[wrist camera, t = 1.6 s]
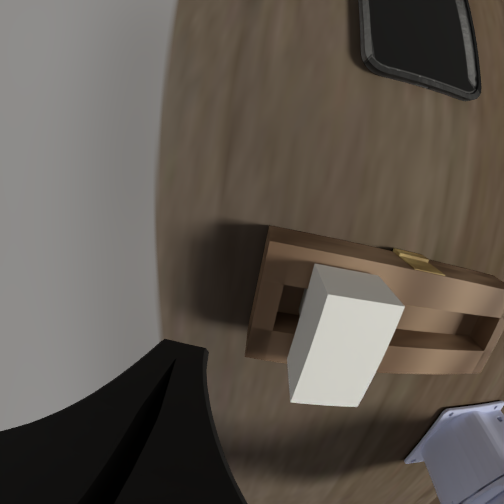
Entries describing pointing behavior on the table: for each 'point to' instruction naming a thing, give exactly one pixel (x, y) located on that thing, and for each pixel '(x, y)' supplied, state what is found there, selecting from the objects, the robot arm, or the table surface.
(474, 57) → the phone
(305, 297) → the block
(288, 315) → the brown wooden frame
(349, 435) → the table surface
